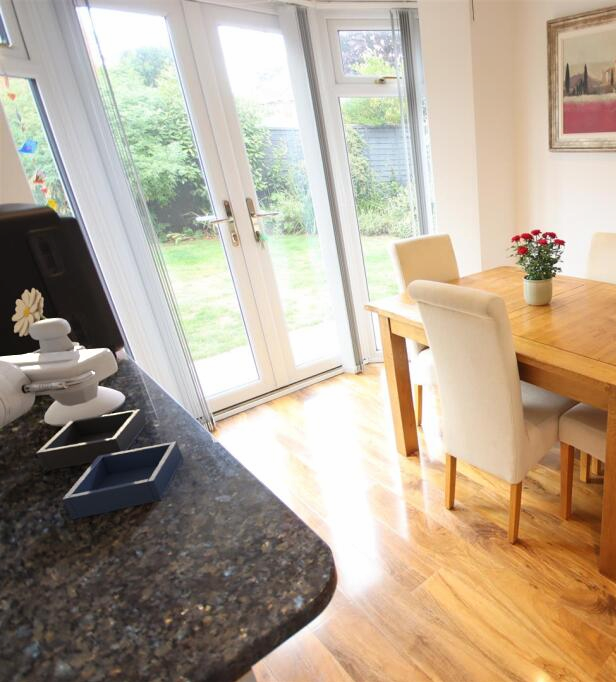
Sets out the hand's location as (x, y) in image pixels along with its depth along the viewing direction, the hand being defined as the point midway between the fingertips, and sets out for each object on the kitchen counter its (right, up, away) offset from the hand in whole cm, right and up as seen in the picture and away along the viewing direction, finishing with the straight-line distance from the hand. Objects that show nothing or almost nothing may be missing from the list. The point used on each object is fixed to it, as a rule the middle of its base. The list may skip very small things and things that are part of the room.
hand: (64, 352), depth 70 cm
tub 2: (+13, -19, -4) cm, 24 cm away
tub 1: (0, -16, +6) cm, 17 cm away
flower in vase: (-10, -13, +15) cm, 23 cm away
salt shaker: (0, -8, +2) cm, 8 cm away
